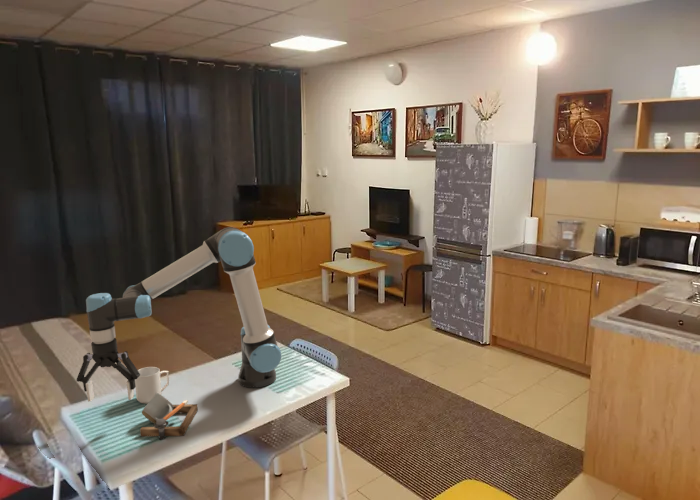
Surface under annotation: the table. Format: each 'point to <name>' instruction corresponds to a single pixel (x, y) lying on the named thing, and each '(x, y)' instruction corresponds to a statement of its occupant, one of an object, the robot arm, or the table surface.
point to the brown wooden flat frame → (176, 430)
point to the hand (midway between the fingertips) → (111, 398)
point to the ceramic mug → (157, 408)
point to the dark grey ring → (161, 430)
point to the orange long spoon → (170, 414)
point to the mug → (149, 383)
